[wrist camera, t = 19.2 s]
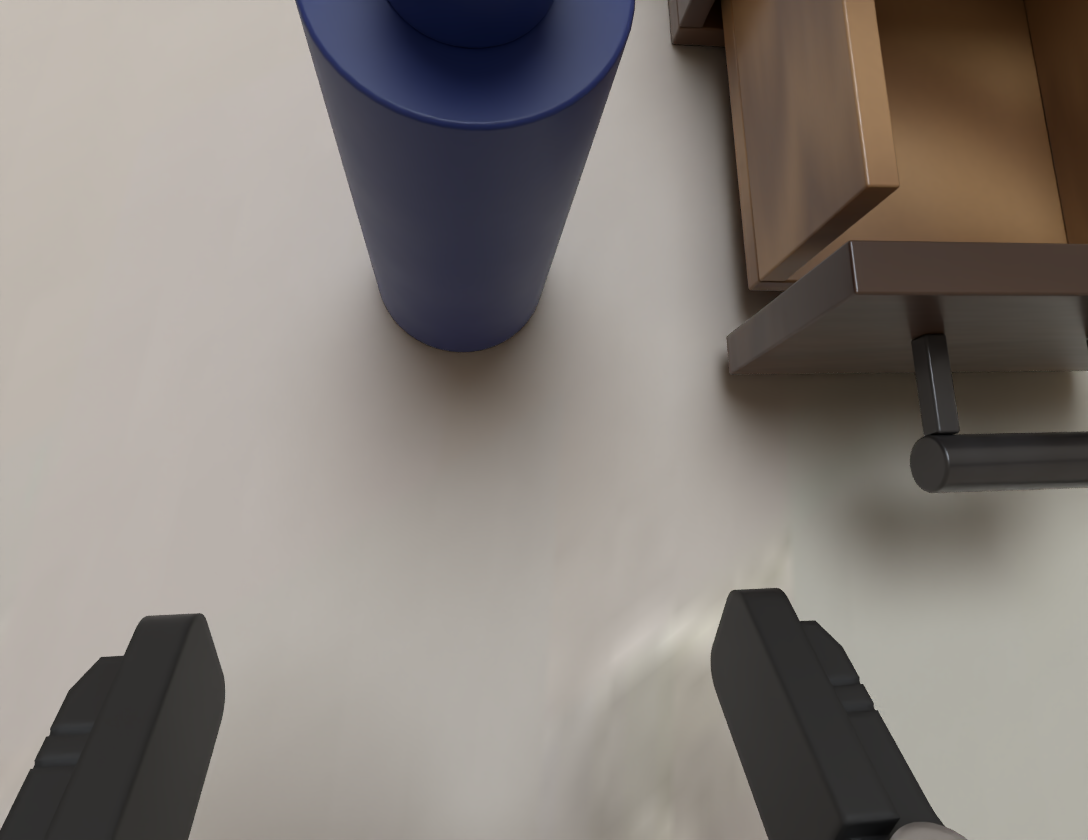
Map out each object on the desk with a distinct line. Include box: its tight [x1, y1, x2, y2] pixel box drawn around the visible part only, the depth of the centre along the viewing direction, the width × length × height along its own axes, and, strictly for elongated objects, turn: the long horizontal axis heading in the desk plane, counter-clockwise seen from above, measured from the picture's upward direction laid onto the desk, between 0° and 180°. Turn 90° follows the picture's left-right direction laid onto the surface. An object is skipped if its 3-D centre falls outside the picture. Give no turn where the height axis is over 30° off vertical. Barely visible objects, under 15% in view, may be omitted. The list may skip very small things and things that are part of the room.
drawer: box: [721, 0, 1088, 493], centre depth 19 cm, size 18×12×7 cm
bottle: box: [295, 0, 635, 352], centre depth 15 cm, size 5×5×14 cm
